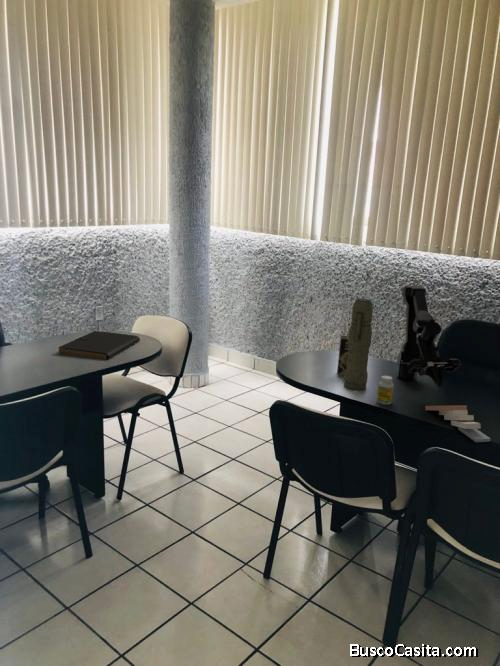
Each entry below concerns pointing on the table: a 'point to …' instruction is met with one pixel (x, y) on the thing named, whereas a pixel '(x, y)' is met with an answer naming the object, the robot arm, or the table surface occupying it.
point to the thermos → (359, 345)
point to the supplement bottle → (385, 390)
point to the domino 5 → (475, 435)
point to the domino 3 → (458, 417)
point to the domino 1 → (447, 407)
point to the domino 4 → (466, 424)
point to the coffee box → (343, 356)
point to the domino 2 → (453, 412)
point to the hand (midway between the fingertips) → (440, 387)
